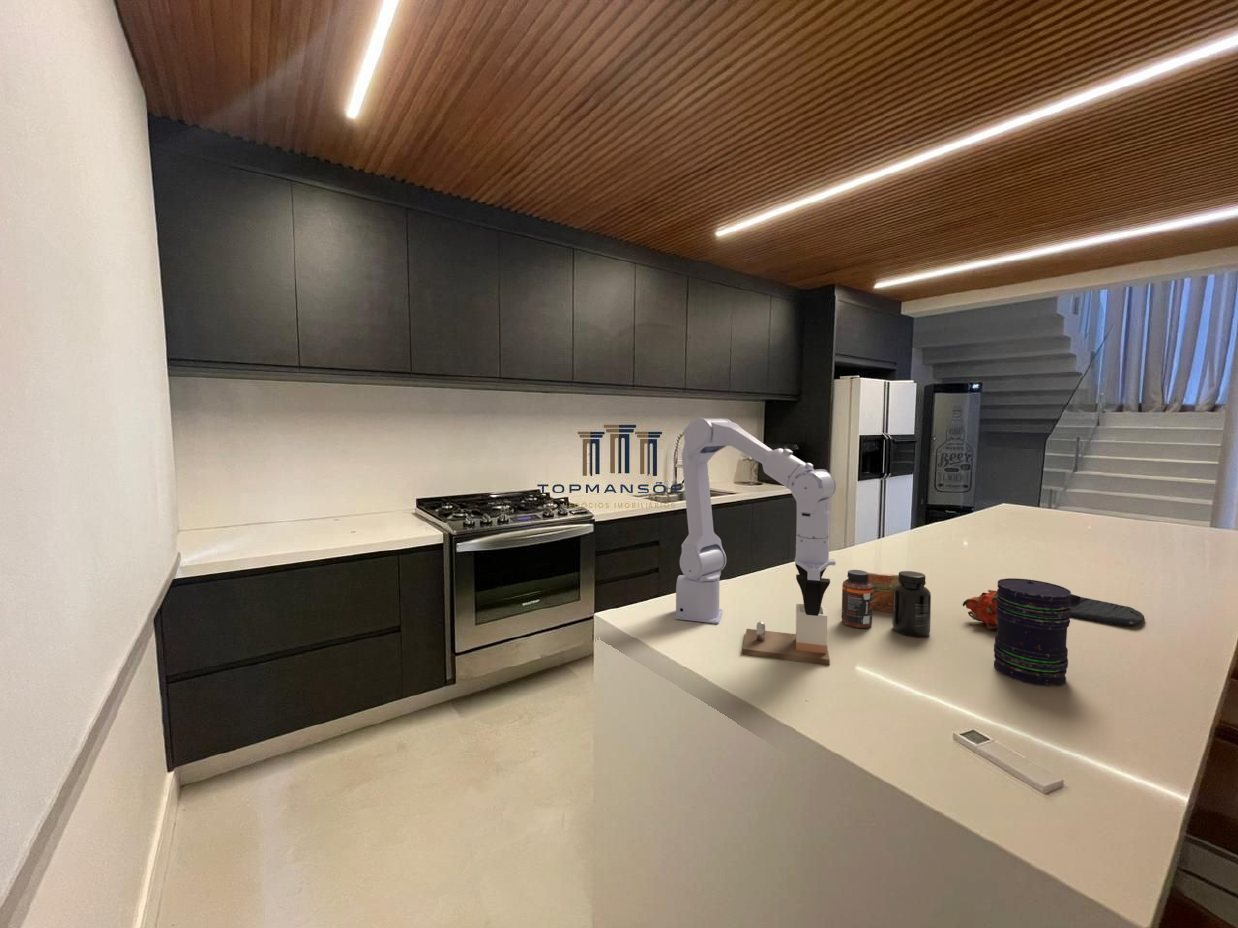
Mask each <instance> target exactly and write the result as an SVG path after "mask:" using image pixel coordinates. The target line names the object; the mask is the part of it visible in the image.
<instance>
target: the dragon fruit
mask: <svg viewBox="0 0 1238 928" xmlns="http://www.w3.org/2000/svg"><path fill="white" fill-rule="evenodd" d="M996 596H997V590H994V589H993V590H992V589H987V592H981V594H980V595H979V596H974V597H971V598H967V599H965V600H964V601H963V602H962V607H965V608H966V609H967V610H970V611H968V612H967V613H968V616H969V617H970V618H972V620H975V621H977V622H980V623H983V625H985V626H986V628H987V629H988V630H991V631H992V630H997V621H998V615H997V613H996V607H997V603H996Z"/></svg>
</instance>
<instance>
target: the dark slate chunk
mask: <svg viewBox="0 0 1238 928" xmlns="http://www.w3.org/2000/svg"><path fill="white" fill-rule="evenodd" d="M1070 601H1071V604H1070V607H1071V615H1070V616H1069V617H1070V618H1071V617H1072V618H1076V619H1082V620H1087V621H1093V622H1098V623H1103V624H1110V625H1113V626H1114V625H1118V626H1132V625H1135V624H1137V623H1139V622H1141V621H1143V620H1144V619H1145V616H1144V614H1143V613H1142V612H1141V611H1139V610H1137V609H1135V608H1133V607H1131V606H1128V605H1127V606H1126V605H1122V604H1116V603H1113V602H1108V601H1102V600H1098V599H1093V598H1087V597H1083V596H1079V595H1076V594H1072V593H1071V598H1070Z"/></svg>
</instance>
